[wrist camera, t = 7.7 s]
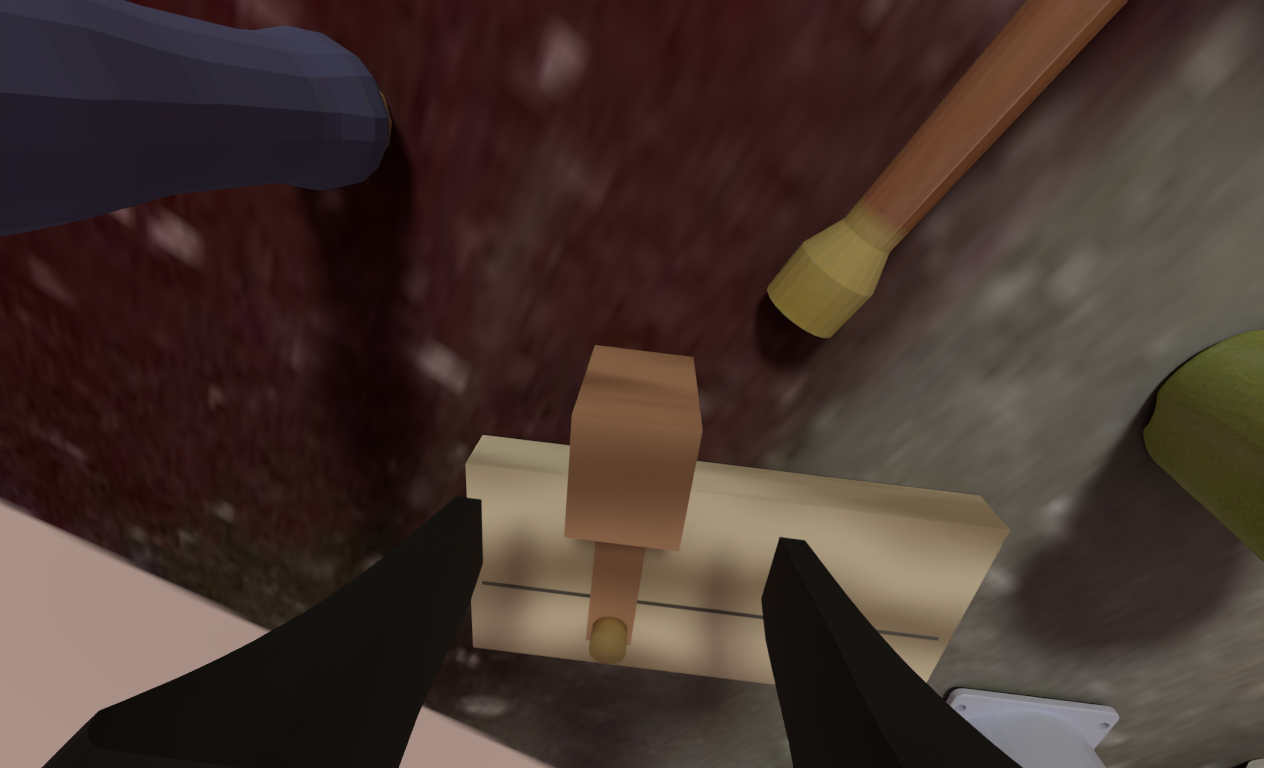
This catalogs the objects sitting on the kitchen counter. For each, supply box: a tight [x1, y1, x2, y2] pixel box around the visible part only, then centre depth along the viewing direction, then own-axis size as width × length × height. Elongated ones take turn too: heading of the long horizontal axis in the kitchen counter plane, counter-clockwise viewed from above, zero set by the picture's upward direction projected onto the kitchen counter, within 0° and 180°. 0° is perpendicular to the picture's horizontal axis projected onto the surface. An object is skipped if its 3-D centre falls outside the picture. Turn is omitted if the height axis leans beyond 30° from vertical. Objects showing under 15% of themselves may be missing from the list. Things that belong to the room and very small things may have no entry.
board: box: [466, 435, 1010, 685], centre depth 22 cm, size 10×20×2 cm, turn 84°
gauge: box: [564, 345, 703, 664], centre depth 19 cm, size 11×4×5 cm, turn 174°
